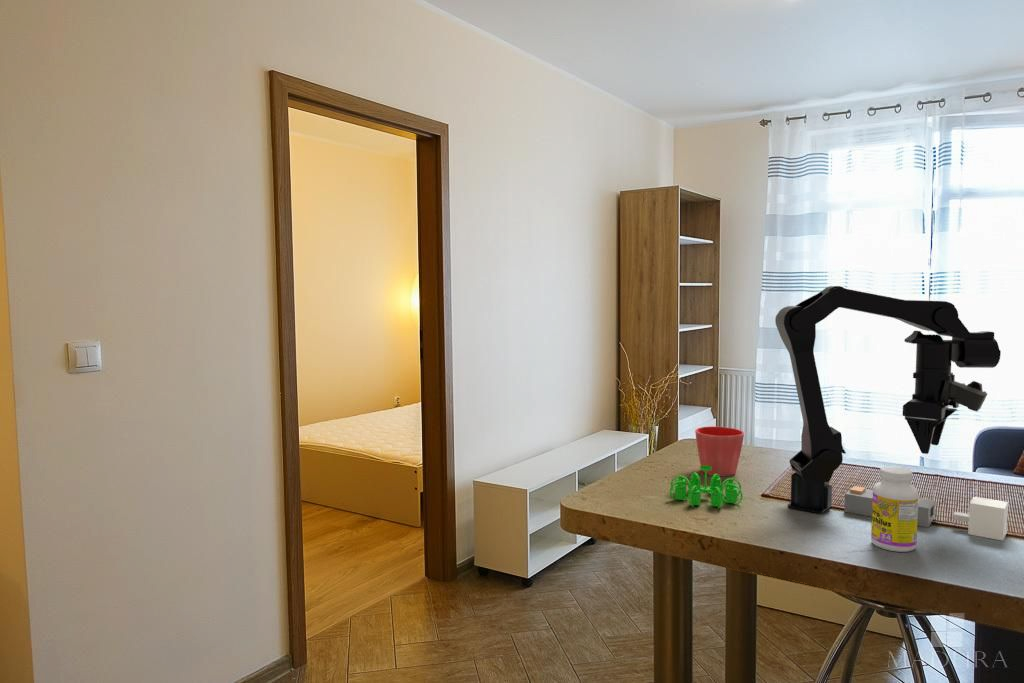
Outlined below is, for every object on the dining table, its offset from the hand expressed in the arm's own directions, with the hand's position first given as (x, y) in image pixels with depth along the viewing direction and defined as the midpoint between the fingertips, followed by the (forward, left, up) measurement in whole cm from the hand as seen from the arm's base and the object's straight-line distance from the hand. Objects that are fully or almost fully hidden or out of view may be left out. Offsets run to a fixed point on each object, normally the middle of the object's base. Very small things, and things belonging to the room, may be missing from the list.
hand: (930, 449), depth 134 cm
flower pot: (-43, +2, -12) cm, 45 cm away
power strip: (-5, -8, -12) cm, 15 cm away
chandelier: (-36, -20, -12) cm, 43 cm away
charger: (+9, -8, -12) cm, 17 cm away
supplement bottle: (-1, -24, -12) cm, 27 cm away
